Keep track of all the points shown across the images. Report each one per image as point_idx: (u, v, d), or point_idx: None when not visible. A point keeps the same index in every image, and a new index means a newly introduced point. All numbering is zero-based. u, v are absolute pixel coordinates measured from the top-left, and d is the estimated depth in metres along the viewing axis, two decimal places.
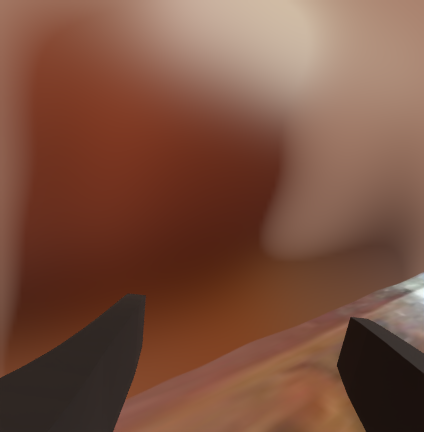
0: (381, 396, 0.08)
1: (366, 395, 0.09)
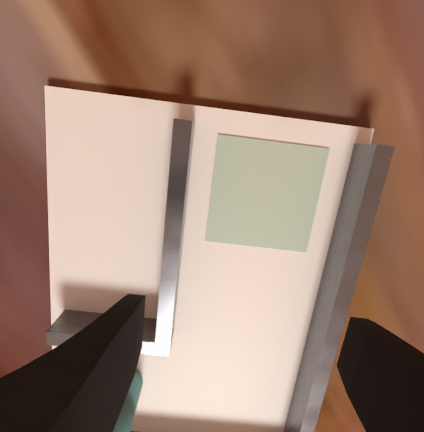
0: (381, 396, 0.08)
1: (366, 395, 0.09)
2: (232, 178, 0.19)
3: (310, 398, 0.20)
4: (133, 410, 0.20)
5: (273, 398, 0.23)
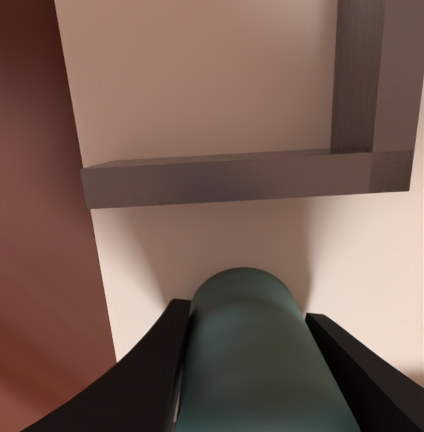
0: None
1: None
2: None
3: None
4: None
5: None
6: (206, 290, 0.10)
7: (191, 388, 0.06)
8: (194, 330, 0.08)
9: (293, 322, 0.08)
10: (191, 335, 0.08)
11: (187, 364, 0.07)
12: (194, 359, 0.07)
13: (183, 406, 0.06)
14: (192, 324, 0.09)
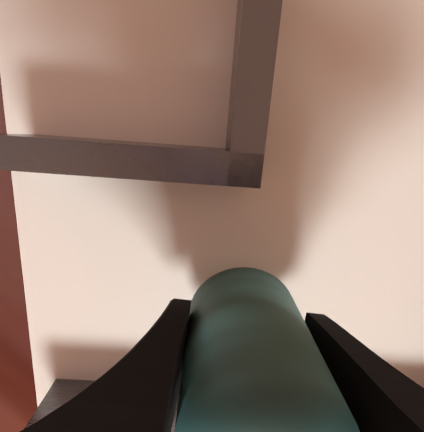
0: None
1: None
2: None
3: None
4: None
5: None
6: (206, 291, 0.10)
7: (191, 388, 0.06)
8: (194, 330, 0.08)
9: (293, 323, 0.08)
10: (191, 335, 0.08)
11: (187, 364, 0.07)
12: (194, 359, 0.07)
13: (182, 406, 0.06)
14: (192, 324, 0.09)
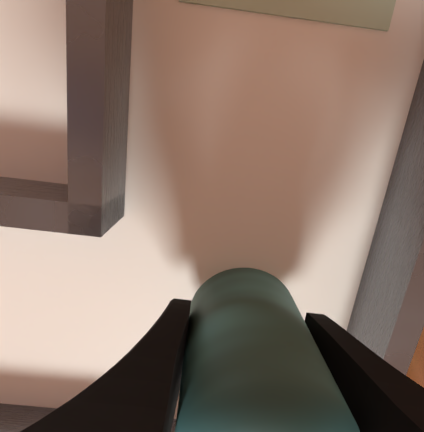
0: None
1: None
2: None
3: (394, 333, 0.10)
4: None
5: None
6: (206, 291, 0.10)
7: (191, 389, 0.06)
8: (194, 331, 0.08)
9: (294, 323, 0.08)
10: (191, 335, 0.08)
11: (187, 365, 0.07)
12: (194, 359, 0.07)
13: (183, 407, 0.06)
14: (192, 324, 0.09)
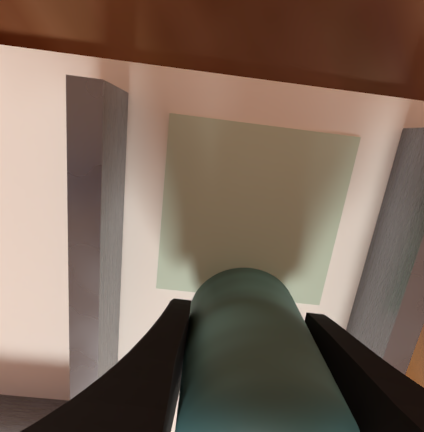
0: None
1: None
2: (196, 187, 0.11)
3: None
4: None
5: None
6: (206, 291, 0.10)
7: (191, 389, 0.06)
8: (194, 330, 0.08)
9: (294, 323, 0.08)
10: (191, 335, 0.08)
11: (187, 365, 0.07)
12: (194, 359, 0.07)
13: (183, 407, 0.06)
14: (192, 324, 0.09)
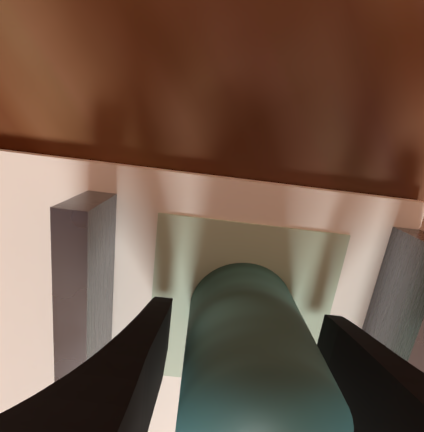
0: (350, 393, 0.08)
1: None
2: (186, 281, 0.11)
3: None
4: None
5: None
6: (206, 285, 0.10)
7: (193, 374, 0.07)
8: (195, 322, 0.09)
9: (290, 314, 0.08)
10: (192, 326, 0.09)
11: (188, 353, 0.08)
12: (195, 348, 0.08)
13: (185, 391, 0.07)
14: (193, 316, 0.09)
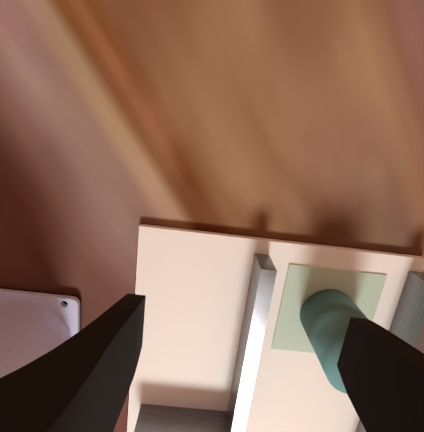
0: (381, 396, 0.08)
1: (366, 395, 0.09)
2: (298, 298, 0.21)
3: None
4: None
5: None
6: (314, 301, 0.20)
7: (330, 342, 0.17)
8: (317, 320, 0.19)
9: (364, 316, 0.18)
10: (315, 322, 0.19)
11: (320, 334, 0.18)
12: (325, 332, 0.17)
13: (328, 348, 0.16)
14: (312, 318, 0.19)
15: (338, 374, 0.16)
